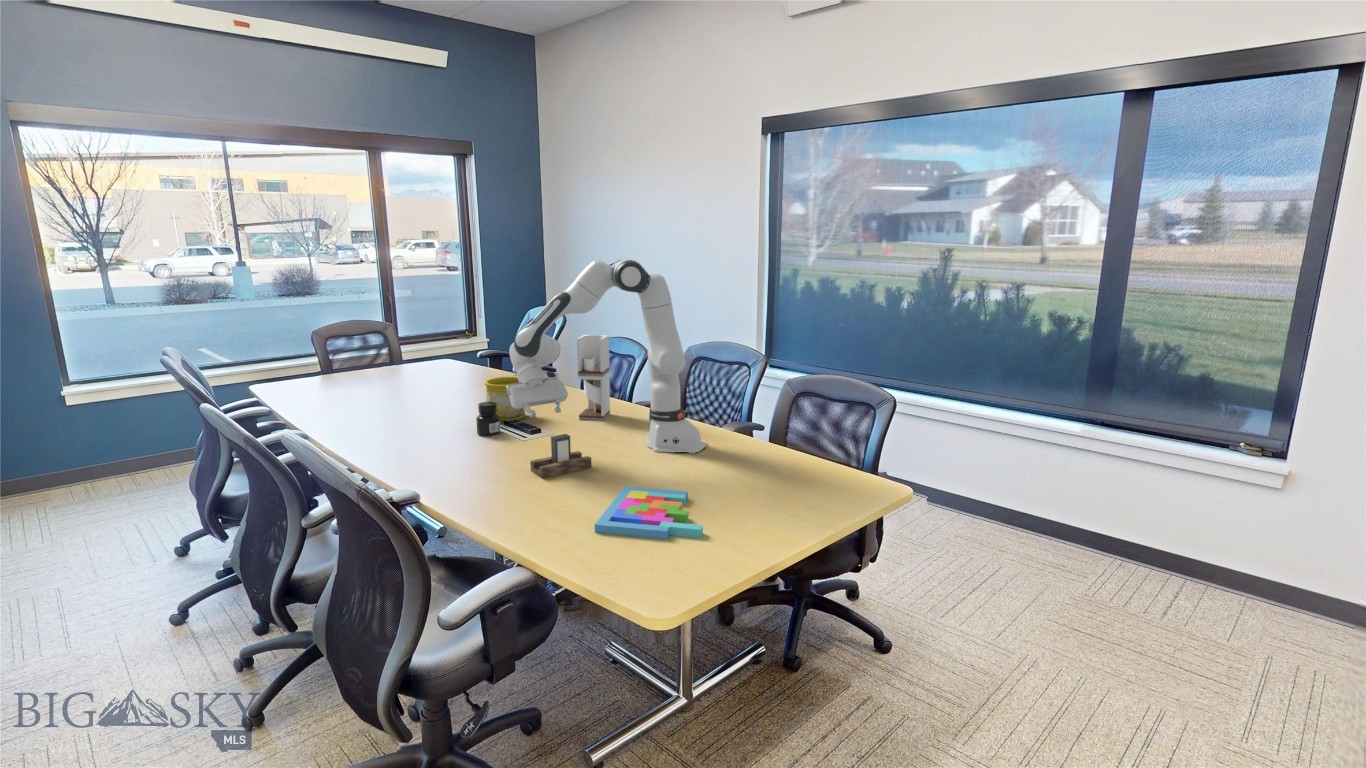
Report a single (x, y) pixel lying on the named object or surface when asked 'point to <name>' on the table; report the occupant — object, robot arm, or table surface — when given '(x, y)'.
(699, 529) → the tetris game
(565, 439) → the dark grey rectangular block
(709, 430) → the table surface
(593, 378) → the rack with curved panels
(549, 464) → the display ledge
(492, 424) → the ink bottle
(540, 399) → the robot arm
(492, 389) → the flowerpot
